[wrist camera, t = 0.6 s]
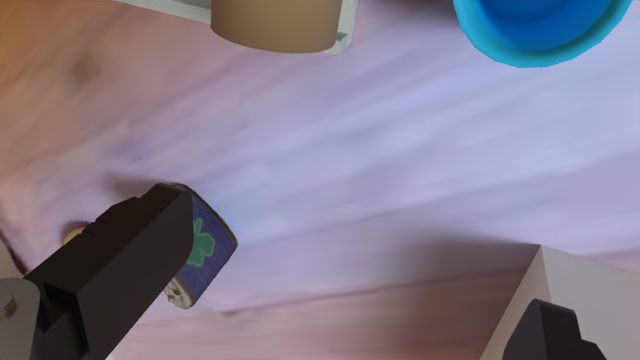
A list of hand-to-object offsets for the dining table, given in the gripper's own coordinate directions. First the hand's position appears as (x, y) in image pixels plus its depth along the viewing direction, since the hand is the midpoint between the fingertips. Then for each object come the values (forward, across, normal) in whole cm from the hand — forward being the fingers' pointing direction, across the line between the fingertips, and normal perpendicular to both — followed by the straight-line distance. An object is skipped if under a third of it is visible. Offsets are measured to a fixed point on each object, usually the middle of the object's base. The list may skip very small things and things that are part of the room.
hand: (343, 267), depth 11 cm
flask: (+26, +18, +23) cm, 39 cm away
